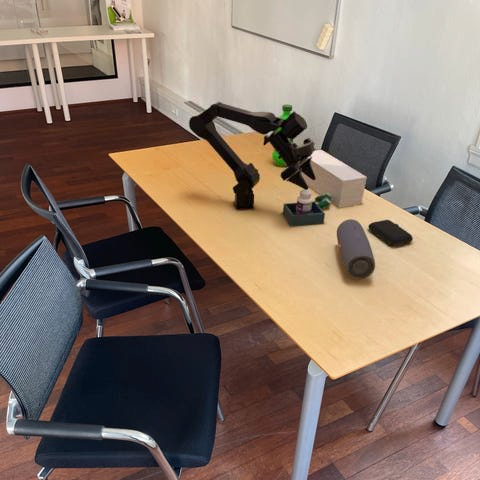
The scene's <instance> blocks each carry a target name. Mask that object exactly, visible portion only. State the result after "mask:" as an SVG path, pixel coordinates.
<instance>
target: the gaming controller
mask: <svg viewBox="0 0 480 480" xmlns="http://www.w3.org/2000/svg"><path fill="white" fill-rule="evenodd" d="M314 200H315V202H316V203H317V202H318V203H317V204H318V206H319V207H320V208H321V209H322V210H323V209H325V208H328V207H329V206H330V205H331V204H332V203H331V195H330V194H329V193H327V194H326V195H317V196H316V197H315V198H314Z"/></svg>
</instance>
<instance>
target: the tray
mask: <svg viewBox="0 0 480 480" xmlns="http://www.w3.org/2000/svg"><path fill="white" fill-rule="evenodd" d="M296 205H297V202H290V203H289V202H288V203H283V207H282V208H283V209H282V215H283V216H284V218H285V219H286V221H287V222H288V224H289V226H290V227H300V226H311V225H323V224H324V222H325V217H326V216H325V215H326V213H325V212H324V211H323V208H322V209H321V208H320V207H319V206H318V203H317V201H316V200H315V201H312V206H311V214H302V215H295V214H296Z"/></svg>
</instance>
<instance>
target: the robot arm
mask: <svg viewBox="0 0 480 480" xmlns="http://www.w3.org/2000/svg"><path fill="white" fill-rule="evenodd" d="M217 118H221V119H224V120H227V121H230V122H235V123H238V124H241V125H245V126H248V127H249V128H250V129H251V130H253V131H254V132H256V133H259V134H260V135H264V136H263V146H266V145H267V144H268V143H269V144H270V145H271V146H272V148H273V150H274V149H275V150H276V152H278V154H279V156H278V158H279V159H280V158H281V159H282V160H283V161H284V163H285V164H286V166H284V169H283V170H282V171H281V172H280V178H281V179H282V181H283V182H288V183H291V184H293V185H295V186H298V187H299V188H301V189H302V190H309V189H310V187H309V186H308V185H307V183H306V182H305V180H304V178H303V176H302V175H301V172H303V173H304V174H305V175H307V176H308V177H309V178H310V179H312V180H313V181H314V180H315V179H316V177H315V174H314V172H313V169H312V166H311V159H312V156H311V155H312V153H313V151H316V149H315V144H316V143H315V142H314V141H313V140H311V138H310V137H307V138H304V139H303V143H301V144H299V145H298V144H297V143H296V142H293V144H292V143H291V142H290V140H289V139H290V138H291V139H293V140H294V139H296V138H297V137H298V136H300V134H302V133H303V132H305V130H307V129H308V123H307V121H306V120H305V118H304V117H303V116H302V115H300V114H299V113H297V112H296V110H293V111H291V113H290V115H289V117H288V118H286V119H282V118H279V116H276V114H274V113H273V112H271V111H250V110H247V109H243V108H240V107H236V106H232V105H229V104H226V103H223V102H221V101H216V102H214V103H212V104H211V105H210V106H209V107H208V108H207V109H205V110H204V111H200V112H198V113H197V114H195V115H193V116H191V117H190V118H189V120H188V127H189V129H190V131H191V132H192V133H194V135H196V136H197V137H198V138H200V139H202V140H204V141H206V142H207V143H208V144H209V145H210V146H211V148H212V149H213V150H214V152H216V154H217V155H219V157H220V158H221V159H222V160H223V162H224V163H225V164H226V165H227V166H228V167H229V168H230V169H231V170H232V173H233V175H234V179H235V181H236V182H237V183H236V184H235V185H234V186H233V187H232V191H233V193H234V201H233V205H234V207H235V208H236V210H250V209H251V210H253V209H254V208H255V206H254V205H255V194H254V190H253V189H254V188H255V187H256V185H258V184H259V182H260V180H261V179H260V178H261V175H260V173H259V169H257V168H256V167H255V165H254V164H253V163H252V162H249V163H248V164H247V163H245V161H243V160H242V159H241V158H240V157H239V156H238V154H237V153H236V152H235V151H234V150H233V148H232V147H231V146H230V145H229V144H228V143H227V141H225V139H224V138H223V137H222V135H221V134H220V133H219V132H218V130H217V127H216V123H215V122H214V120H215V119H217ZM280 127H281V130H280V131H279V132H278V131H276V130H277V129H278V128H280ZM269 133H270V134H269ZM289 142H290V143H289ZM310 156H311V157H310ZM308 157H310V158H308Z"/></svg>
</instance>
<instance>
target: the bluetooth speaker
mask: <svg viewBox="0 0 480 480" xmlns="http://www.w3.org/2000/svg"><path fill="white" fill-rule="evenodd" d="M336 241H337V246H338V251H339V254H340V257H341V260H342V263H343V266H344V269H345V271H346V273H347V275H348V276H349V277H350V278H352V279H356V280H364V279H367V278H369V277H370V276H371V275H372V274H373V273H374V271H375V269H376V261H375V260H376V259H375V256H374V253H373V250H372V247H371V243H370V241H369V238H368V236H367V234H366V231H365V229H364V227H363V225H362V224H361V223H360V222H359V221H358V220H356V219H353V218H352V219H350V218H349V219H346V220H343V221H342V222H341V223H340V224H339V225H338V226H337V228H336Z"/></svg>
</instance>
